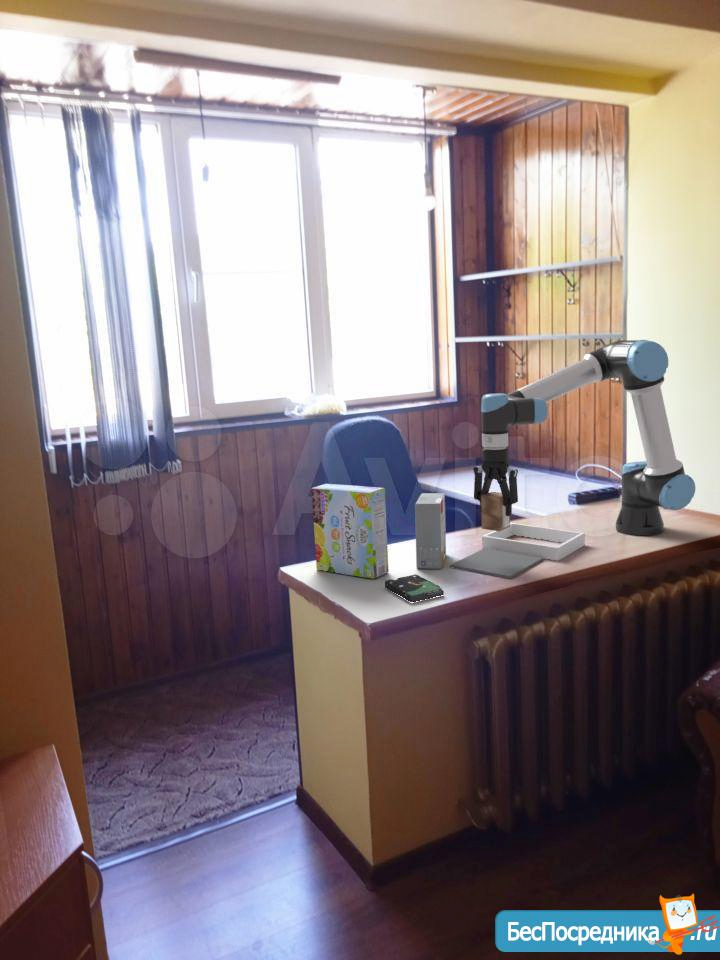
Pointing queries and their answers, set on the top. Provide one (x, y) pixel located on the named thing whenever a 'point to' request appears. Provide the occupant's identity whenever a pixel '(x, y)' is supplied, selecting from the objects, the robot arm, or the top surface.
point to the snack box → (350, 530)
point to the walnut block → (492, 511)
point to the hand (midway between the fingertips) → (495, 524)
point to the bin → (567, 538)
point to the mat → (497, 563)
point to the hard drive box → (430, 530)
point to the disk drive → (414, 588)
